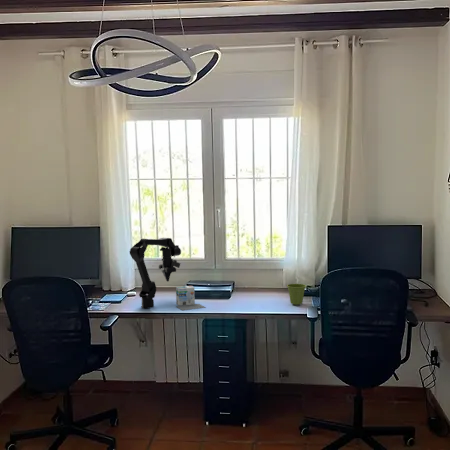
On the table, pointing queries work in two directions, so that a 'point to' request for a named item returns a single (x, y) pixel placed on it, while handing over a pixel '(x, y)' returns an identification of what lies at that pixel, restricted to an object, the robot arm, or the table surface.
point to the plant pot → (296, 293)
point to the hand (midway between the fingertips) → (167, 281)
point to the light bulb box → (185, 295)
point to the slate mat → (190, 307)
